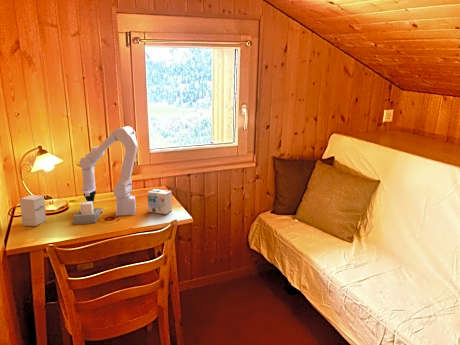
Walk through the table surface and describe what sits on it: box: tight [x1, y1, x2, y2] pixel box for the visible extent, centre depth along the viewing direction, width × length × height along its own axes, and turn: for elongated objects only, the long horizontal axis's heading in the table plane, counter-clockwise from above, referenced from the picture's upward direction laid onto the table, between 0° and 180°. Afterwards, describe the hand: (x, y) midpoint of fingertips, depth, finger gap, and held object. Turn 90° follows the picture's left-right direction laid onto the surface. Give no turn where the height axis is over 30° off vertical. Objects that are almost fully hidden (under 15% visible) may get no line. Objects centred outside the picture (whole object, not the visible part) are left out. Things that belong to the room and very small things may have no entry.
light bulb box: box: [147, 188, 173, 215], centre depth 189 cm, size 11×7×11 cm, turn 70°
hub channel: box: [72, 209, 101, 225], centre depth 177 cm, size 10×14×4 cm
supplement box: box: [19, 194, 47, 227], centre depth 170 cm, size 7×7×13 cm
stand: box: [93, 207, 105, 214], centre depth 189 cm, size 6×6×1 cm
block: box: [79, 200, 94, 215], centre depth 180 cm, size 5×5×6 cm
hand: (90, 205), depth 188 cm, fingers closed
